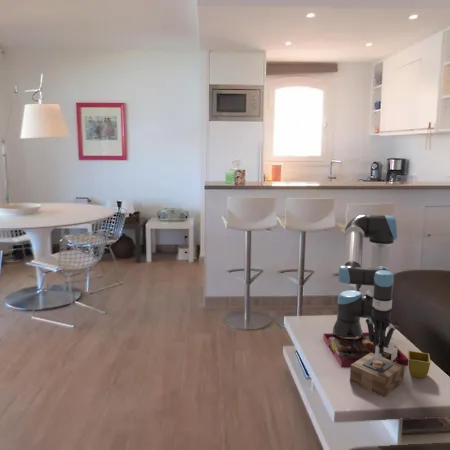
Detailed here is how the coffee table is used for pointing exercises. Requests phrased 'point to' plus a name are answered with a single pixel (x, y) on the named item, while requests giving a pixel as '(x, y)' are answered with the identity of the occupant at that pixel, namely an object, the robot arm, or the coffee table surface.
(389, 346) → the medicine bottle
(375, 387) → the socket block
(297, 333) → the coffee table surface
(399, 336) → the coffee table surface
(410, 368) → the flower pot
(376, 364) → the peg
